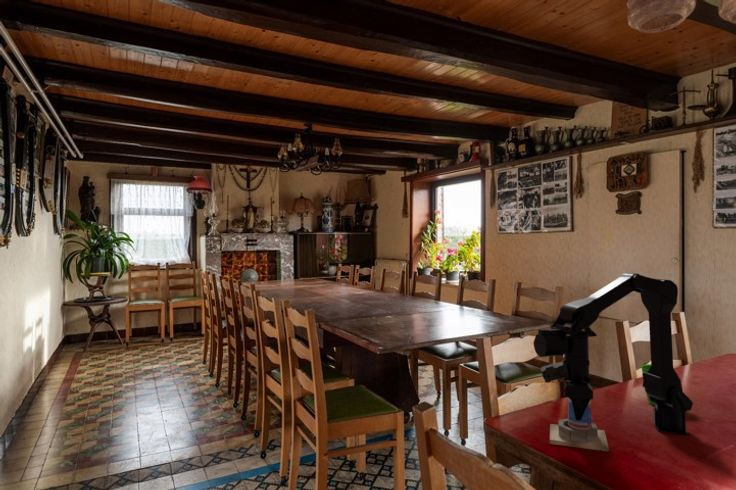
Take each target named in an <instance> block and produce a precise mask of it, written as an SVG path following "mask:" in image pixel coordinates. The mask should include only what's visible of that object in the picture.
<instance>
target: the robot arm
mask: <svg viewBox="0 0 736 490" xmlns="http://www.w3.org/2000/svg"><path fill="white" fill-rule="evenodd" d="M632 292H636V293H637V294H640V299H641V303H642V304H643V306H644V307H645V308H646V310H647V312H648V324H649V326H648V327H649V328H648V329H649V344H650V345H649V346H650V364H651V367H650V369H649V370H648V372H643V373H642V385H641V386H642V387H643V388H644V392H645V393H647V394H648V396H649V399H650V401H651V402H655V405H654V408H653V409H652V419H653V422H652V423H653V425H654V426H655V428H656V429H657V431H658V432H660V433H661V432H663V433H667V434H669V433H670V434H678V435H685V436H686V435H688V434H689V432H688V431H687V429H686V428H687V427H686V426H687V425H686V423H687V421H686V413H687V411H688V412H689V411H692V408H693V404H694V403H693V401H692V399H691V398H689V397H688V396H687V394H686V393H685V392H684V389H683V386H682V380H681V378H680V377H679V375H678V373H677V371H676V370H675V368H674V356H673V335H672V311H673V310H674V309H675V307H676V305H677V304H678V294H679V289H678V285H677V284H676V283H675V282H674V281H673V280H670V279H660V278H653V277H649V276H645V275H642V274H639V273H635V272H632V273H630V272H625V273H624V272H623V273H622V274H621V275H619V277H618V278H616V279H614V280H613V281H611V282H610V283H608V284H607V285H605V286H603V287H601V288H600V289H599V290H596V291H595V292H594V293H592V294H591V295H589V296H588V297H585V298H581V299H576V300H572V301H571V302H568V303H566V304H563V305H562V306H561V308H559V314H558V315H557V317H556V318H555V320H554V322H553V323H552V325H551V326H550V328H548V329H546V328H538V329H537V334H535V337H534V340H533V349H534V351H535V353H536V355H537V356H538V357H540V358H545V357H547V358H548V357H559V356H562V361H559V362H555V363H551V364H547V365H543V366H541V367H540V373H541V374H542V378H543V381H544V383H546V384H547V383H551V382H552V381H556V380H561V379H563V385H564V386H563V388H564V389H563V392H564V394H563V395H564V397H566V398H567V399H568V398H569V399H570V400H571V401H572V405H573V409H574V414H575V418H576V420H581V419H582V416H583V414H584V412H585V410H586V408H587V406H588V404H589V402H590V400H591V401H592V400H593V399H594V389H593V387H592V386H591V384H590V382H591V377H590V365H591V363H590V362H591V361H590V354H589V353H590V351H589V350H590V346H589V344H590V343H589V338H590V337H591V338H593V337H597V336H598V335H597V333H596V332H595V331H593V329H592V328H591V325H593V324H594V323H595V322H596V321H597V320H598V318H599V316H600V314H601V313H602V312H603V311H604V310H606V309H607V308H609V307H611V306H612V305H614V304H615V303H617V302H618V301H620V300H622V299H623V298H625V297H626V296H628V295H630V294H632ZM647 394H646V395H647Z"/></svg>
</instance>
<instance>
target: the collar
mask: <svg viewBox="0 0 736 490" xmlns="http://www.w3.org/2000/svg"><path fill="white" fill-rule="evenodd" d="M591 423H592V426H591V429H588V430H578V429H574V428H571V427H570V426H569V424H568V417H567V418H563V419H559V420H558V424H553V423H550V426H549V444H550V445H556V446H557V445H558V446H564V447H573V448H578V449H587V450H593V451H594V450H595V451H600V450H601V452H608V451H609V452H610V447H609V443H608V440H607V436H606V432H605V430H604V429H598V427H597V424H595V423H594V422H591Z"/></svg>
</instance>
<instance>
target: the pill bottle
mask: <svg viewBox="0 0 736 490" xmlns="http://www.w3.org/2000/svg"><path fill="white" fill-rule="evenodd" d="M567 418H568V424H569V426H570V427H571V428H574V429H578V430H588V429H591V426H592V423H593V422H592V399H591V400H590V402H589V404H588V406H587V408H586V410H585V412H584V414H583V416H582V419H581V420H576V418H575V414H574V409H573V405H572V401H571V400H570V399H569V398H568V397H567Z"/></svg>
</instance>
